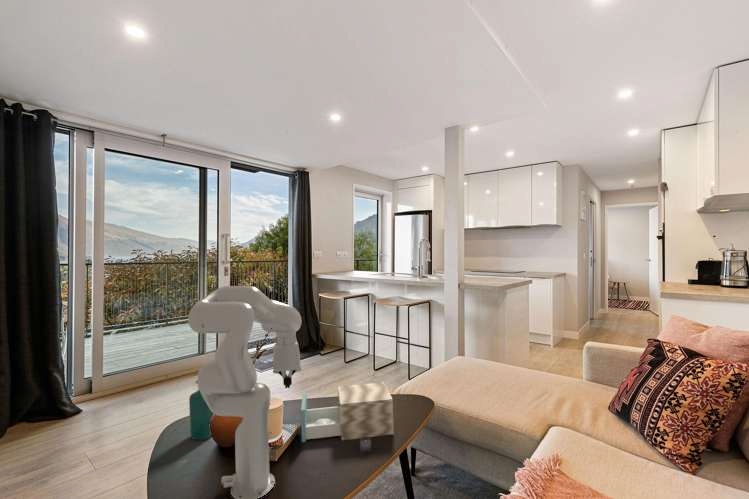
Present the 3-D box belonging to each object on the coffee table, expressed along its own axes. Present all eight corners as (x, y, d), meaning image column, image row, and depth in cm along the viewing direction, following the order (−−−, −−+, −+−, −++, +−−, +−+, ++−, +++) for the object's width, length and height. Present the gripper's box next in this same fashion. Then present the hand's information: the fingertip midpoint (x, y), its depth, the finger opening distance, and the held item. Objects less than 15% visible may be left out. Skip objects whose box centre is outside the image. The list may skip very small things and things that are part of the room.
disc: (332, 429, 135) (331, 425, 135) (315, 431, 134) (315, 427, 134) (330, 421, 142) (330, 417, 142) (314, 423, 140) (314, 419, 140)
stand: (360, 453, 121) (360, 443, 121) (359, 447, 125) (359, 437, 125) (371, 452, 122) (371, 442, 122) (370, 446, 126) (370, 436, 126)
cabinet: (341, 440, 130) (340, 404, 130) (338, 418, 148) (337, 386, 148) (393, 434, 133) (392, 399, 133) (384, 413, 151) (383, 382, 151)
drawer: (301, 442, 128) (300, 410, 128) (303, 419, 145) (303, 391, 146) (355, 436, 131) (354, 404, 131) (351, 414, 149) (350, 386, 149)
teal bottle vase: (207, 441, 133) (205, 383, 133) (187, 439, 134) (186, 382, 135) (223, 428, 142) (221, 374, 143) (204, 426, 144) (203, 373, 144)
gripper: (265, 344, 131) (266, 392, 131) (305, 341, 134) (306, 388, 134) (267, 339, 139) (269, 384, 139) (305, 336, 141) (307, 381, 141)
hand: (287, 386), depth 136 cm, fingers closed
